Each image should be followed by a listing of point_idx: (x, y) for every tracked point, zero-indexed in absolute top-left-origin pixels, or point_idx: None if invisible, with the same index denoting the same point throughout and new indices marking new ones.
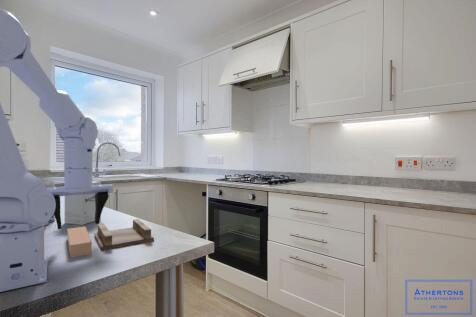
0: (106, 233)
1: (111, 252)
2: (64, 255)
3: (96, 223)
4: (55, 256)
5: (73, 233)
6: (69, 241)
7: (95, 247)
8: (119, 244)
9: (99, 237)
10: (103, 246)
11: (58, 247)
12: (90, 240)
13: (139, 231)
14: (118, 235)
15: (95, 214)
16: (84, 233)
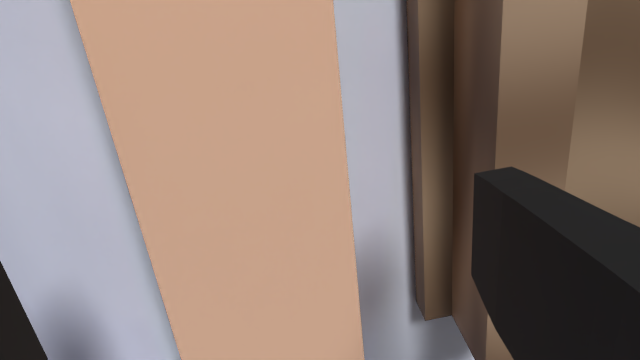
0: None
1: (470, 352)
2: (156, 323)
3: (478, 283)
4: (90, 324)
5: (170, 113)
6: (180, 352)
7: (380, 227)
8: None
9: (446, 57)
10: (440, 317)
11: (36, 111)
12: None
13: None
14: (631, 66)
15: (539, 268)
16: (305, 163)
